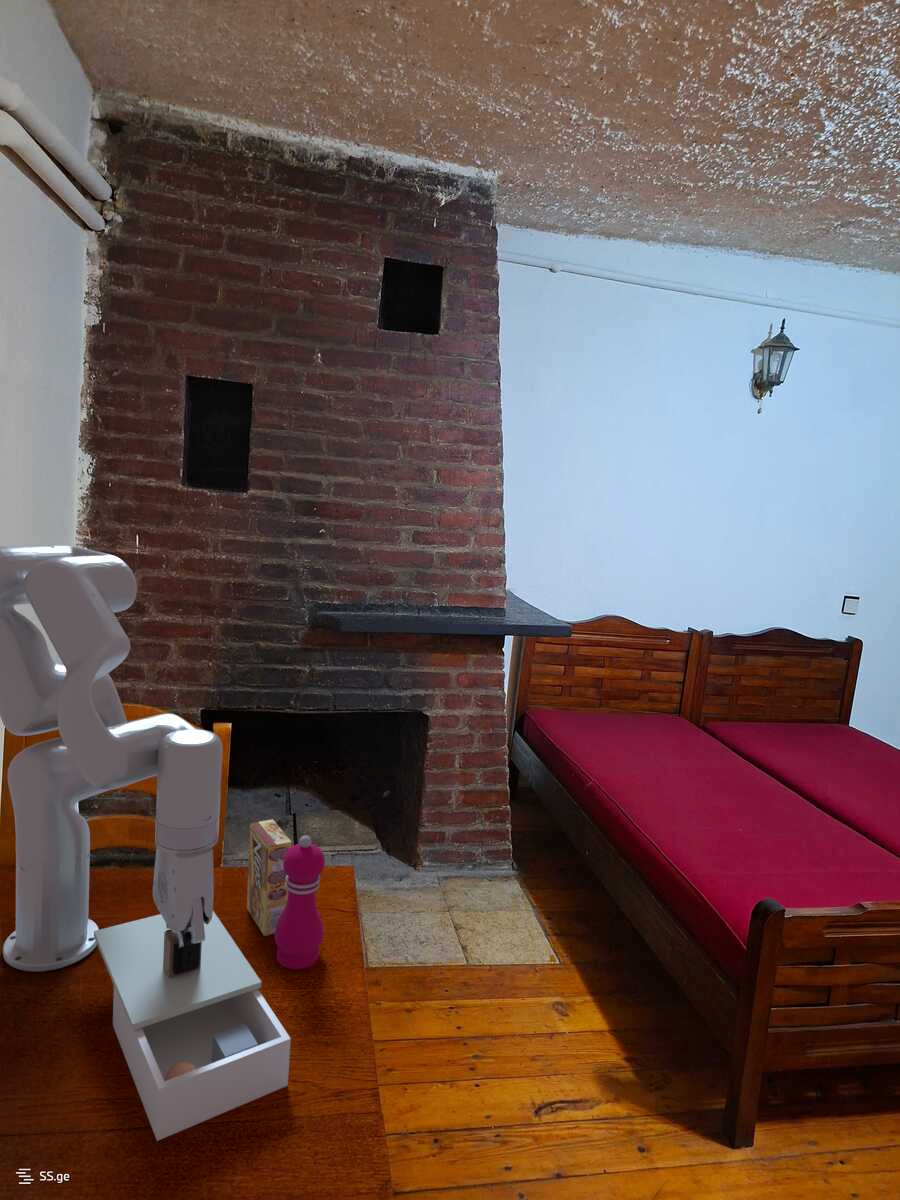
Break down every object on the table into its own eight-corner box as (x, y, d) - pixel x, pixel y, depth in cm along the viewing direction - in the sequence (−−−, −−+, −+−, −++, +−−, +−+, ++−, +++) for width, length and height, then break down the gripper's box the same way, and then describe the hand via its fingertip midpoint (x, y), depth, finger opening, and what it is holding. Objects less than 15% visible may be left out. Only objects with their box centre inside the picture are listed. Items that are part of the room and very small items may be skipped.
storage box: (112, 1030, 97) (114, 980, 96) (227, 992, 106) (229, 946, 105) (156, 1147, 82) (158, 1089, 81) (287, 1091, 91) (290, 1038, 89)
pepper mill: (278, 979, 110) (286, 850, 107) (268, 950, 117) (276, 827, 113) (326, 970, 113) (336, 844, 110) (315, 942, 119) (323, 822, 116)
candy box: (288, 931, 122) (294, 841, 119) (262, 937, 119) (268, 846, 117) (268, 903, 129) (274, 818, 127) (244, 909, 127) (249, 822, 124)
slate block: (211, 1064, 92) (213, 1034, 92) (243, 1052, 95) (245, 1023, 94) (223, 1086, 89) (225, 1056, 89) (256, 1073, 92) (257, 1044, 91)
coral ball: (160, 1088, 88) (161, 1061, 88) (191, 1076, 90) (192, 1049, 90) (169, 1110, 85) (170, 1082, 85) (201, 1098, 87) (202, 1070, 87)
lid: (93, 936, 104) (94, 897, 103) (207, 907, 114) (208, 871, 113) (132, 1030, 88) (133, 985, 87) (261, 987, 97) (263, 946, 96)
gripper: (139, 809, 99) (135, 938, 102) (176, 865, 87) (170, 1011, 90) (196, 799, 104) (191, 923, 107) (240, 851, 91) (232, 990, 94)
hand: (182, 962), depth 98 cm, fingers closed on lid, 2 cm apart
